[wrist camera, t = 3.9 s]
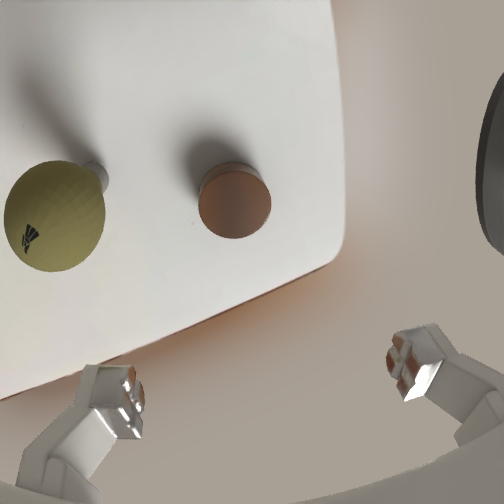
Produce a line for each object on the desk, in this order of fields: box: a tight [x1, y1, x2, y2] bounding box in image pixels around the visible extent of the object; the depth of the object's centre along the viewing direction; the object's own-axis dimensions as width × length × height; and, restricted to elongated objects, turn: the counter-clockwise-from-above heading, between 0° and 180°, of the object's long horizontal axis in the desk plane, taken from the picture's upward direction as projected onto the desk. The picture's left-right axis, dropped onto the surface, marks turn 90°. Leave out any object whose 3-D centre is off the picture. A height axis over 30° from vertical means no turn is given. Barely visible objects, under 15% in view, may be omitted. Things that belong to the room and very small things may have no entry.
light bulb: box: [4, 160, 109, 272], centre depth 16 cm, size 6×6×10 cm
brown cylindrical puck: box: [198, 162, 271, 239], centre depth 21 cm, size 5×5×2 cm
